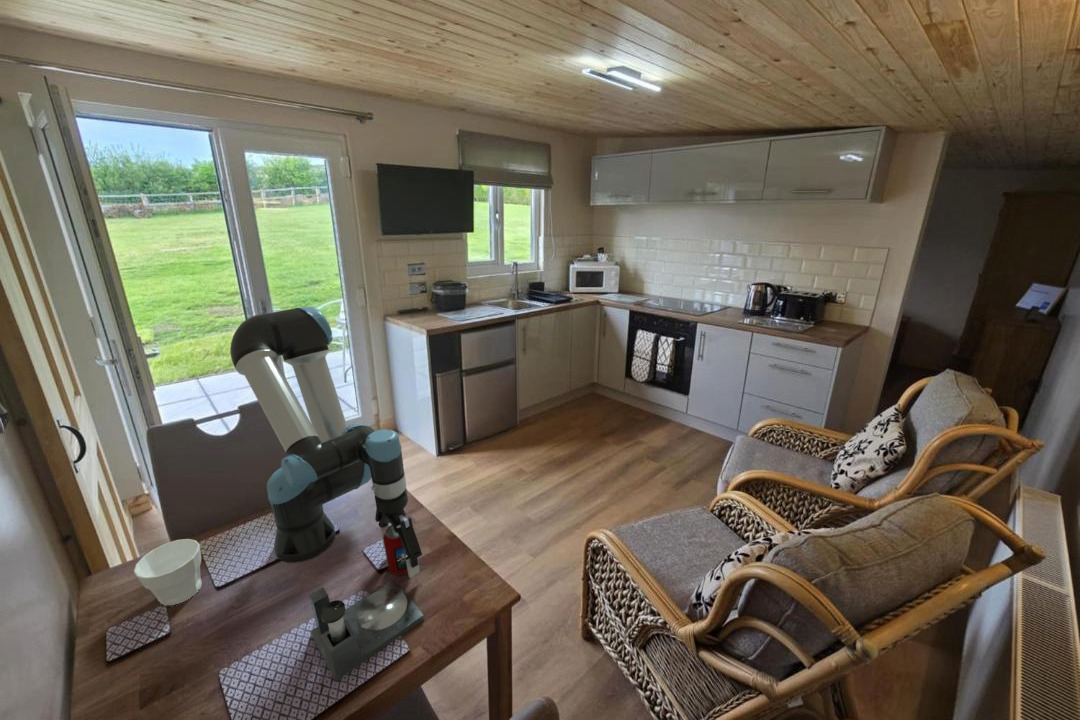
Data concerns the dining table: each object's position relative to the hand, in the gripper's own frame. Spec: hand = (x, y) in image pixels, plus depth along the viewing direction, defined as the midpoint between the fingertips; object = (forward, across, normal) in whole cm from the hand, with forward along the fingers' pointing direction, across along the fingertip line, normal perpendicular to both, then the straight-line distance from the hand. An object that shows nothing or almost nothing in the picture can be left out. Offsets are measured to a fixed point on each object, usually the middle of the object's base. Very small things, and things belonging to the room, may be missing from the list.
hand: (401, 559), depth 117 cm
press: (+2, +11, -14) cm, 18 cm away
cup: (+2, -31, -43) cm, 53 cm away
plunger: (-3, +15, -21) cm, 26 cm away
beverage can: (+3, 0, 0) cm, 3 cm away
